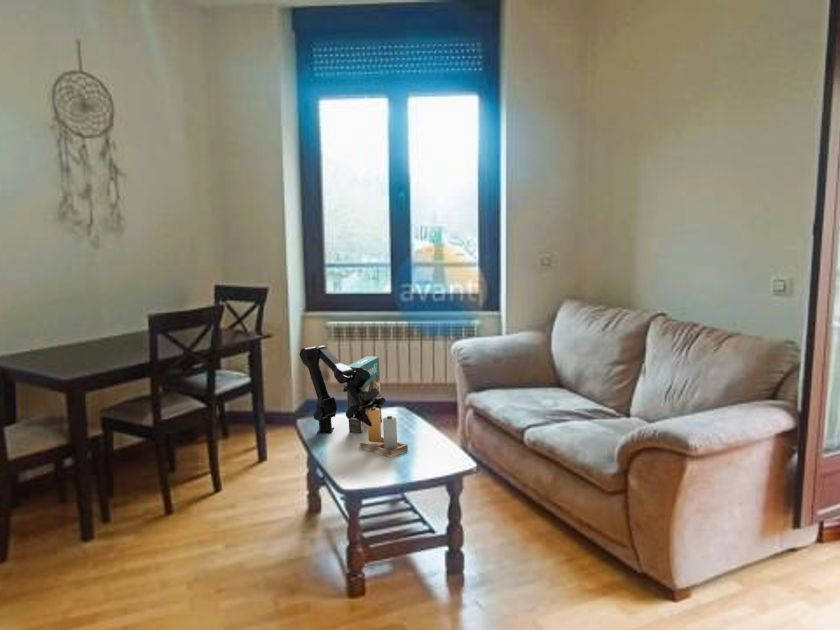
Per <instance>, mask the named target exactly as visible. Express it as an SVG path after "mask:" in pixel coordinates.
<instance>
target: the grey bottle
mask: <svg viewBox="0 0 840 630" xmlns="http://www.w3.org/2000/svg"><path fill="white" fill-rule="evenodd" d="M382 427H383V428H382V429H383V438H384V449H386V450H392V449H395V448H397V442H398V430H397V428H398V427H397V417H396V416H392V415H386V416H384V417H383V418H382Z"/></svg>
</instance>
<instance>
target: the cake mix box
mask: <svg viewBox="0 0 840 630" xmlns="http://www.w3.org/2000/svg"><path fill="white" fill-rule="evenodd" d="M348 366H349V367H350V368H352V369H353V370H354V371H356V369H357V368H359V367H361V368H362V369H364V370H366V371H368V372H369V373H370V379H369V380H368V381H367V383H366V384H365V385H364V387H362V390H363V391H367V392H369V391H371V389H373V388H377V390H378V392H379V394H378V395H377V397H375V398H372V399H373V400H372V401H371V403H373V401H374V400H375V399H376V398H379V397H382V395H381V376H380V371H381V370H380V357H379V356H371V355H369V356H367V355H366V356H365V357H363V358H361V359H359V360H357V361H355V362H352V363H351V364H349V365H348ZM350 382H351V381H350ZM348 383H349V382H347V383H346V385H347V384H348ZM346 395H347V396H346V397H347V410H348V409H349V407H350V406H353V405H356V404H355V402H353V403H352V398H351V396H350V394H349V393H348V391H346ZM365 413H366V415H367V409H366V410H365ZM353 414H354V413H353ZM380 414H381V418H382V407H381V408H380ZM354 417H355V415H354V416H353V418H349V419H348V433H351V434H360V435H361V434H363V433H366V431H368V425H367V424H365V423H364V422H362V421H360V420H358V419H356V418H355V419H354ZM382 419H383V418H382Z"/></svg>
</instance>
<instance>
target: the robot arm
mask: <svg viewBox="0 0 840 630" xmlns="http://www.w3.org/2000/svg"><path fill="white" fill-rule="evenodd" d="M299 357H300V360H301V362H302V363H303V365H305V367H307V369H308V373H309V374H310V379H311V382H312V384H313V388H314V390H315V394H316V397H317V400H316V405H315V407H316V411H315V412H314V413H313V416H312V417H313V420H315V421H317V422H318V430H317V431H316V433H317V434H332V432H333V431H334V430H335V428H334V427H333V426H332V422H333V421H332V418H335V417H336V416H337V410H338V406H337V403H336V398H335V397H334V396H330V395H329V393H328V389H327V386H326V384H325V379H324V376H323V374H322V371H321V370H322V369H321V367H320V362H321V361H320V360H322V362H323V363H324V364H325V365H326V366H327V367H328V368H329V369H330V370H331V371H332V372H333V377H334V378H335V380H336V381H337V382H338V383H339V384H341V385H342V384H345V385H343V392H344V393H345V392H346V393H347V391H348V393H349V394H350V396H351V398H352V403H353V402H355V404H356V405H353V406H350V407H349V409H348V408H347V409H346V412H345V416H346V418H347V420H349V418H353V416H354V415H355V417H354V419H355V418H356V419H358V420H360V421H362V422H364V423H365V424H367V425H369V426H372V424H371V422H370V420H369V418H368V417H367V415H366V413H365V410H366V409H369V408H371V407H376V408H379V409H380V408H381V409H382V407H383V406H384V405H385V403H386V402H387V400H386V399H385V397H384V396H381V397H379V398H376V399H375V400H374V401H373V403H371V401H372V400H373V399H372V398H375V397H377V395H378V394H379V392H378V390H377V388H373V389H371V391H369V392H367V391H363V390H362V387H364V385H365V384H366V383H367V381H368V380H369V379H370V373H369V372H368V371H366V370H364V369H362V368H361V367H359V368H357V369H356V371H354V370H353V369H352V368H350V367H349V365H346V364H344V363H342V362H340V360H338V358H337V357H336V356H335V355H334V354H333V353H332V352H331V351H330V350H329V349H328V347H327V346H326V345H317V346H315V345H313V346H308V347H307V346H306V347H303V348H301V349H300V351H299ZM350 381H351V382H350ZM347 382H349V383H348V384H347ZM353 413H354V414H353ZM381 415H382V413H381V414H380V420H381V423H383V418H381Z"/></svg>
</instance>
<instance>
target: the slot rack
mask: <svg viewBox="0 0 840 630" xmlns="http://www.w3.org/2000/svg"><path fill="white" fill-rule="evenodd" d="M408 447H409V446H408V444H407V443H403V442H399V441H397V448H395V449H392V450H386V449H384V436H383V437H382V436H381V441H378V442H370V441H368V442H364V441H359V449H363V450H366V451H368V452H372V453H374V454H378V455H381V456H384V457H388V458H390V459H391V458H393V457H395V456H398V455H401V454H403V453H405V452H408V450H409V448H408Z"/></svg>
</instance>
